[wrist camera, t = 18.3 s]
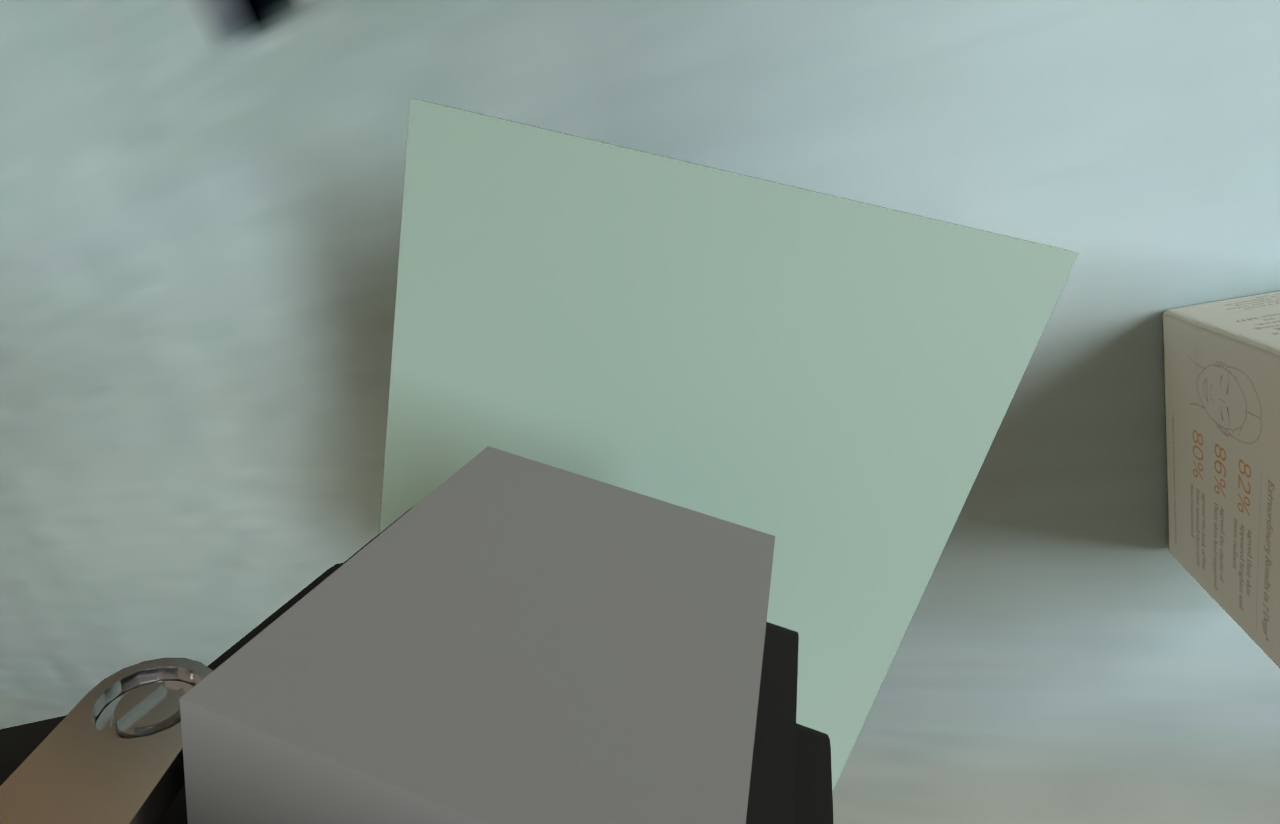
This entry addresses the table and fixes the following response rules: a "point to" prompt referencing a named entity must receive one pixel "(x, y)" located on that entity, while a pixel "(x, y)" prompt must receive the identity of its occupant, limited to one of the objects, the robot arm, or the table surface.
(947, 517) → the lid
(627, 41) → the table surface
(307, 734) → the block
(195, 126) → the table surface
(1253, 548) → the small box
